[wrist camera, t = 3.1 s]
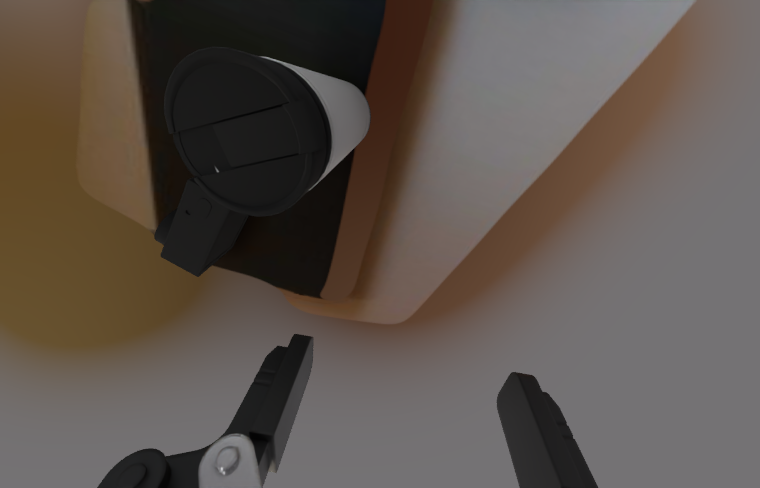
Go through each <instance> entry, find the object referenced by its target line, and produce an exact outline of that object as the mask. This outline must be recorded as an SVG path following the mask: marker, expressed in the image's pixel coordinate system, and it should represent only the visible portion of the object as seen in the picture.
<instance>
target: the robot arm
mask: <svg viewBox="0 0 760 488" xmlns="http://www.w3.org/2000/svg"><path fill="white" fill-rule="evenodd" d="M312 361H313V337H310V336H304V335H299V334H294V336H293V337H292V339H291V341H290V344H289V346H288V347H282V346H277V347H276V348H275V349H274V350H273V351H271V353H269V354H268V355H267V356H266V358H265V360H264V362H263V364H262V366H261V368H260V370H259V372H258V374H257V375H256V377H255V379H254V382H253V383H252V385H251V387H250V388H249V390H248V392H247V394H246V396H245V398H244V400H243V402H242V404H241V405H240V407H239V409H238V411H237V413H236V415H235V417H234V419H233V420H232V422H231V424H230V426H229V428H228V429H227V430H226V432H225V433H224V434H223V435H222V436H221V437H220V438H219V439H218V440H216V441H215V442H214V443H212V444H211V445H209V446H207V447H205V448H202V449H200V450H196V451H191V452H186V453H182V454H176V455H171V456H166V457H165V456H164V454H163V453H162V452H161V451H159V450H157V449H143V450H140V451H137V452H135V453H133V454H131V455H129V456H127V457H125V458H124V459H123V460H121V461H120V462H119V463H118V464H116V465H115V466H114V467H113V469H111V470H110V472H109V473H108V474H107V475H106V476H105V478H104V479H103V480H102V482H101V483H100V485H99V486H98V487H97V488H263V484H264V482H265V479H266V476H267V473H268V471H270V472H275V473H276V472H277V470H278V467H279V464H280V461H281V458H282V455H283V453H284V450H285V447H286V444H287V441H288V438H289V435H290V432H291V429H292V426H293V423H294V420H295V417H296V414H297V411H298V409H299V406H300V403H301V399H302V397H303V394H304V391H305V388H306V385H307V382H308V379H309V376H310V372H311V368H312ZM497 409H498V413H499V417H500V420H501V423H502V427H503V430H504V434H505V437H506V441H507V444H508V448H509V451H510V455H511V458H512V462H513V465H514V469H515V472H516V476H517V479H518V483H519V486H520V488H598V486H597V484H596V482H595V480H594V478H593V476H592V474H591V472H590V470H589V468H588V466H587V464H586V462H585V459H584V457H583V455H582V453H581V451H580V450H579V447H578V445H577V443H576V441H575V439H573V435H572V433H571V431H570V429H569V426H567V424H566V420H565V418H564V416H563V414H562V412H561V410H560V408H559V406H558V405H557V404H556V403H555V402H554V400H553V399H552V398H551V397H550V395H549V394H548V393H546V392H542V390H541V388H540V386H539V384H538V381H537V380H536V378H535V377H534V376H532V375H527V374H522V373H516V372H512V373H511V374H510V375H509V377H508V379H507V380H506V382H505V384H504V386H503V387H502V389H501V390H500V392H499V394H498V397H497Z"/></svg>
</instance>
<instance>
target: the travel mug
mask: <svg viewBox="0 0 760 488" xmlns="http://www.w3.org/2000/svg"><path fill="white" fill-rule="evenodd" d="M164 113H165V117H166V121H167V126H168V130H169V134H170V133H173V134H174V143H175V145H176V147H177V150H178V152H179V154H180V156H181V158H182V160H183V162H184V163H185V165H186V166H187V168H188V170H189V171H190V172H191V173H192V174H193V175H194V176H195V177H196V178H193V179H194V180H195V181H196V183H197V184H198V185H199V186H200V187H201V188H202V190H203V191H204V192H205V193H206V194H207V195H208V196H209V197H211V198H212V199H214V200H215V201H216V202H218V203H219V204H221V205H223V206H225V207H227V208H228V209H230V210H233V211H236V212H239V213H241V214H244V215H251V216H270V215H274V214H278V213H281V212H283V211H285V210H287V209H288V208H290V207H292V206H293V205H294V204H295V203H296V202H297V201H298V200H299V199H300V198H301V197H302V196H303V195H304V194H305V193H306V192H307V191H309V190H311V189H312V188H313V187H314V186H315V185H316V184H317V183H319V182H320V181H321V180H322V179H323V178H324V177H325V176H326V175H327V174H328V173H329V172H330V171H331V170H332V169H333V168H334V167H335V166H336V165H337V164H338V163H339V162H340V161H341V160H342V159H343V158H344V157H345V156H346V155H347V154H348V153H349V152H350V151H351V150H353V149H354V148H355V147H356V146H357V145H358V144H359V143H360V142H361V141H362V140H363V138H364V137H365V135H366V134H367V132H368V130H369V126H370V119H371V114H370V108H369V105H368V101H367V100H366V98H365V96H364V94H363V93H362V92H361V91H360V90H359V89H358V88H357V87H356V86H355V85H353V84H351V83H349V82H346V81H343V80H340V79H337V78H333V77H330V76H327V75H323V74H320V73H317V72H314V71H310V70H307V69H304V68H301V67H297V66H294V65H291V64H288V63H284V62H281V61H278V60H274V59H271V58H268V57H259V56H256V55H253V54H249V53H246V52H242V51H239V50H235V49H232V48H225V47H209V48H205V49H200V50H197V51H195V52H193V53H192V54H190V55H188V56H186V57H185V58H184V59H183V60H182V61H181V62H180V63H179V64H178V65H177V66H176V67H175V69H174V71H173V73H172V75H171V77H170V78H169V80H168V84H167V88H166V92H165V100H164Z"/></svg>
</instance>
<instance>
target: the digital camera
mask: <svg viewBox="0 0 760 488" xmlns="http://www.w3.org/2000/svg"><path fill="white" fill-rule="evenodd" d="M194 178H196V177H194ZM248 216H249V215H244V214H241V213H239V212H236V211H233V210H230V209H228V208H227V207H225V206H223V205H221V204H219V203H218V202H216V201H215V200H214V199H212V198H211V197H209V196H208V195H207V194H206V193H205V192H204V191H203V190H202V188H201V187H200V186H199V185H198V184H197V183H196V181H195V180H194V179H193V178H191V179H189V180H188V181H187V184H186V186H185V189H184V192H183V195H182V197H181V200H180V203H179V206H178V208H177V209H176V210H174V211H172V212H171V213H170V214H169V215H168V216H166V217H165V219H164V220H163V221H162V222H161V223H160V225H159V226H158V228H157V230H156V232H155V236H154V237H155V240H156V241H158V242H160V243H162V244H164V247H163V250H162V253H161V257H162V258H164V259H166V260H168V261H170V262H171V263H173V264H175V265H177V266H179V267H181V268H182V269H184V270H186V271H188V272H190V273H192V274H193V275H195V276H197V277H199V276H200V275H201V274H202V273H203V272H205V271H206V270H207V269H208V268H209V267H210V266H212V265H213V264H214V263H215V262H216V261H217V260H219V259H220V258H221V257H222V256H223V255H224V254H226V253H227V252H228V251H229V250H230V249H231V248H232V247H233V246H234V244H235V242H236V240H237V238H238V236H239V234H240V232H241V230H242V228H243V226H244V224H245V222H246V220H247V218H248Z"/></svg>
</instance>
